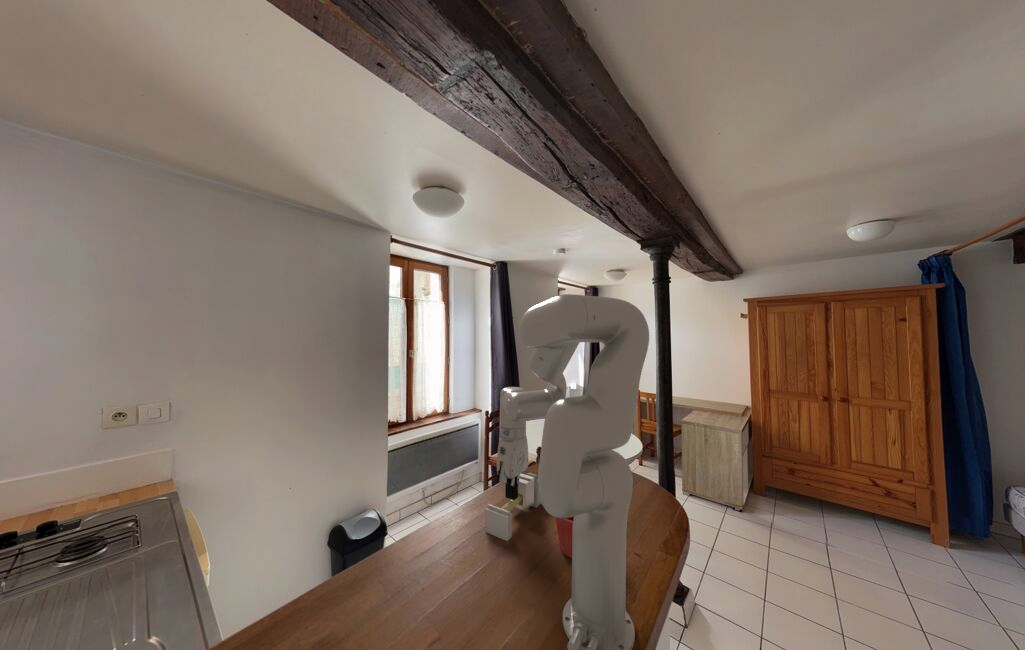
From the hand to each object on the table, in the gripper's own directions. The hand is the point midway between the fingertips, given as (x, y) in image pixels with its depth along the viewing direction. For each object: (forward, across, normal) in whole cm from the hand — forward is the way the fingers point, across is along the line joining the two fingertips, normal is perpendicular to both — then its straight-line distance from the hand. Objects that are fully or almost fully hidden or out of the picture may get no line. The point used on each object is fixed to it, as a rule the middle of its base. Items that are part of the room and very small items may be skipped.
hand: (511, 497), depth 89 cm
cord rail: (+7, +4, 0) cm, 8 cm away
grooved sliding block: (+5, +6, 0) cm, 8 cm away
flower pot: (+7, 0, -19) cm, 20 cm away
